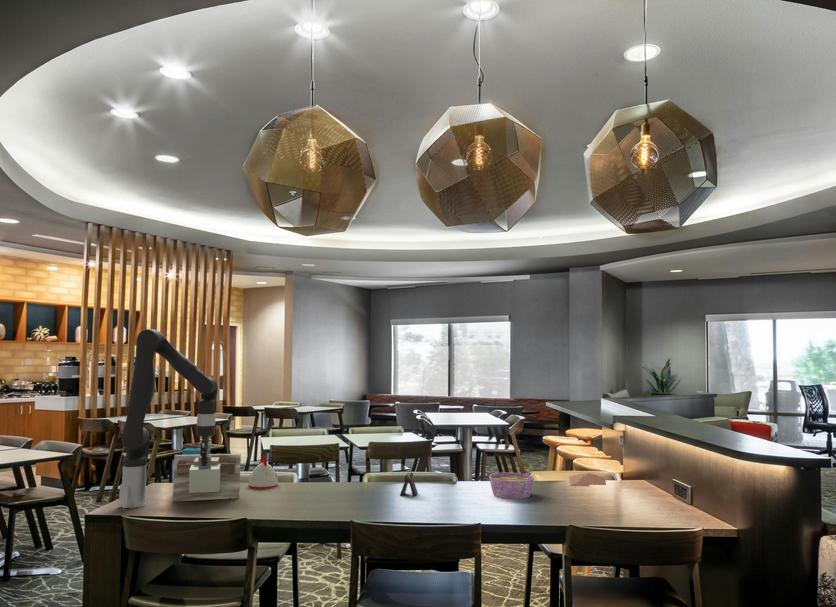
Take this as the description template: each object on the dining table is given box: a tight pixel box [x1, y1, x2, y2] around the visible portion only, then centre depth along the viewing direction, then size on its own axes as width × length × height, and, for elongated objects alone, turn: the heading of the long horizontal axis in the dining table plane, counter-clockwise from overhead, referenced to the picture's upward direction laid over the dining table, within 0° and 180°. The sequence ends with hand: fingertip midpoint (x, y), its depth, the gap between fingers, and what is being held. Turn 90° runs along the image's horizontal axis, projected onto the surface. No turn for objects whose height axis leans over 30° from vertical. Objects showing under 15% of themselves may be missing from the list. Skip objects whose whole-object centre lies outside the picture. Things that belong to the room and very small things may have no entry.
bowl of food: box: [488, 472, 535, 500], centre depth 285 cm, size 20×20×12 cm
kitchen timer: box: [248, 455, 279, 490], centre depth 312 cm, size 14×14×15 cm
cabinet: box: [189, 456, 220, 493], centre depth 277 cm, size 11×12×15 cm
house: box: [568, 472, 607, 488], centre depth 314 cm, size 23×33×8 cm
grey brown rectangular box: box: [172, 453, 242, 502], centre depth 284 cm, size 13×28×20 cm, turn 101°
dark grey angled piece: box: [399, 472, 419, 497], centre depth 287 cm, size 9×6×12 cm, turn 81°
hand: (204, 464), depth 273 cm, fingers open, 4 cm apart
